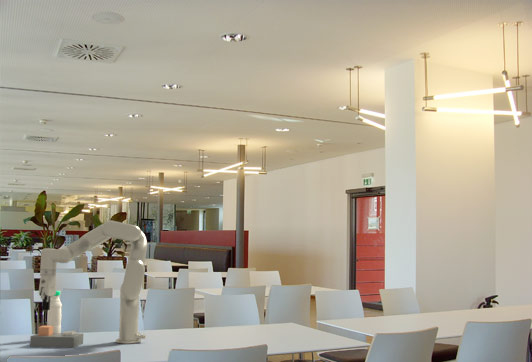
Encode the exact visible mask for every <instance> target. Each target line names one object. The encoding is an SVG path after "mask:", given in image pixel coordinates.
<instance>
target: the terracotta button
mask: <svg viewBox="0 0 532 362" xmlns="http://www.w3.org/2000/svg"><path fill="white" fill-rule="evenodd" d="M37 334H38V335H41V336H49V335H52V334H53V326H47V325H41V326H38V333H37Z"/></svg>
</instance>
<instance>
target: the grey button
mask: <svg viewBox="0 0 532 362" xmlns="http://www.w3.org/2000/svg"><path fill="white" fill-rule="evenodd" d="M61 333H62V336H74V335H76V333H77V331H75V330H74V331H73V330H71V331H70V330H69V331H68V330H66V331H63V332H61Z"/></svg>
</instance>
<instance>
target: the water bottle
mask: <svg viewBox="0 0 532 362" xmlns="http://www.w3.org/2000/svg"><path fill="white" fill-rule="evenodd" d="M60 296H61V291H60V290H56V294H55V295H53V296H52V297H51V301H50V310H47V317H46V318H47V319H46V324H47V325H46V326H53V333H62V326H61V323H62V306H63V304H62V302H61V299H60Z"/></svg>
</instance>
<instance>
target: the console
mask: <svg viewBox="0 0 532 362" xmlns="http://www.w3.org/2000/svg"><path fill="white" fill-rule="evenodd" d="M62 333H63V332H61V333H53V334H52V335H49V336H41V335H38V333H36V334H33V335H30V337H29V338H30V339H29V340H30V341H29V342H30V343H29V347H31V348H33V347H34V348H61V349H63V348H64V349H65V348H69V349H70V348H71V349H74V348H76V347H79V346H81V345H83V344H84V333H82V332H81V333H77V332H76V335H74V336H62Z"/></svg>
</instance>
